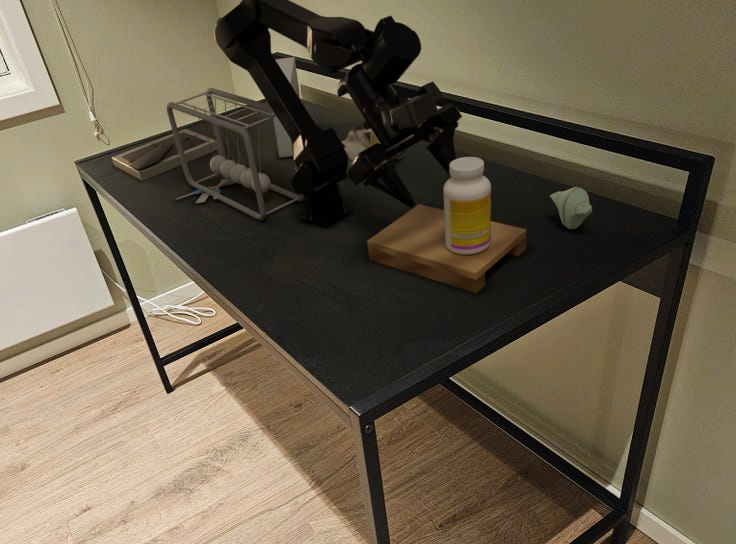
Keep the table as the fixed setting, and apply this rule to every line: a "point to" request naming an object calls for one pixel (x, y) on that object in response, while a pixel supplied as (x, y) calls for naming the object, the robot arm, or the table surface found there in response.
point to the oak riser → (440, 249)
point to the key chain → (205, 196)
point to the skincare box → (281, 135)
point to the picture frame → (163, 154)
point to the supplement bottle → (467, 207)
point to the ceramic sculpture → (361, 143)
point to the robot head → (572, 206)
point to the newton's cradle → (220, 163)
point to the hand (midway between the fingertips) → (436, 192)
